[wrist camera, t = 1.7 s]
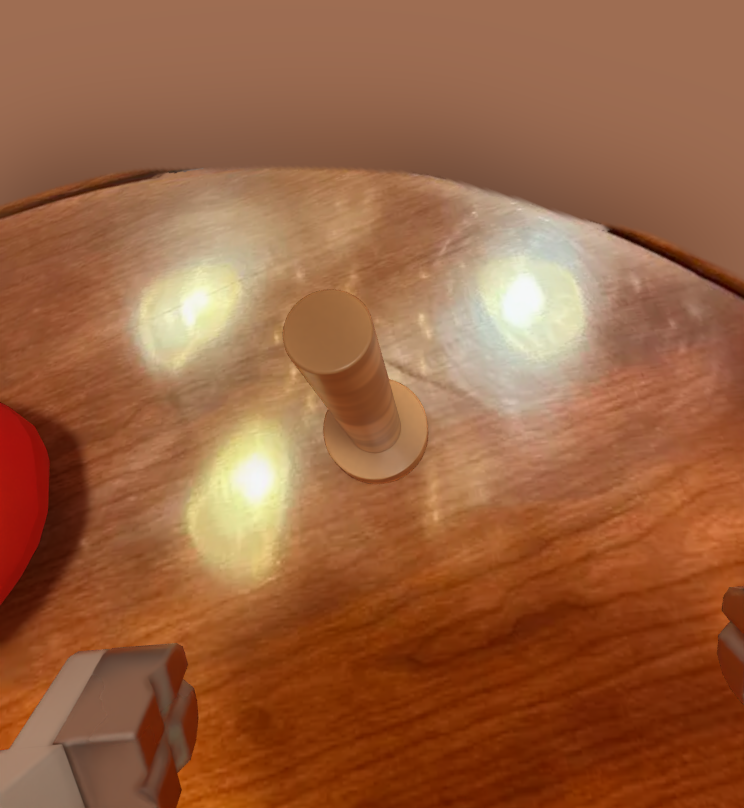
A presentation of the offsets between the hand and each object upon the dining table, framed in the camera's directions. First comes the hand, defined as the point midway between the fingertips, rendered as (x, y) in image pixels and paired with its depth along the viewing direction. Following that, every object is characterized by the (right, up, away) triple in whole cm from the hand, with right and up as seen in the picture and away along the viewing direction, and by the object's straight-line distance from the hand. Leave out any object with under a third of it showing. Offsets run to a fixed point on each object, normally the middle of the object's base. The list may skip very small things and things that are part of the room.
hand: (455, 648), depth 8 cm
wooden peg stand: (-1, +2, +21) cm, 21 cm away
